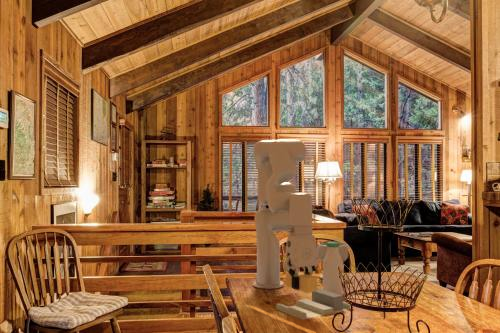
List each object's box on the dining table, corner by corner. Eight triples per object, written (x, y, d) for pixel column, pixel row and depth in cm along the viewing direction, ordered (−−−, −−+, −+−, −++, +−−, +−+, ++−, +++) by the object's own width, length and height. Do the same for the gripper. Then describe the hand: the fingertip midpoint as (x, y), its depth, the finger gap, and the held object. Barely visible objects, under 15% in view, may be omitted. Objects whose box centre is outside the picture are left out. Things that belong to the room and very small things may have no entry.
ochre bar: (286, 286, 155) (286, 272, 156) (295, 284, 158) (295, 271, 158) (307, 292, 146) (307, 278, 146) (317, 291, 148) (317, 276, 148)
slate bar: (311, 303, 161) (311, 290, 161) (320, 302, 163) (320, 289, 163) (333, 311, 152) (333, 297, 152) (343, 309, 154) (342, 295, 154)
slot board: (276, 311, 155) (276, 303, 155) (324, 302, 166) (324, 295, 166) (302, 322, 143) (302, 314, 143) (353, 312, 154) (352, 304, 154)
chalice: (352, 276, 211) (352, 243, 211) (342, 282, 199) (342, 247, 199) (323, 273, 218) (323, 241, 218) (311, 279, 206) (311, 244, 206)
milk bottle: (343, 298, 172) (343, 243, 172) (322, 297, 173) (322, 243, 174) (343, 293, 179) (343, 241, 180) (323, 292, 181) (323, 240, 181)
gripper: (287, 233, 145) (287, 293, 144) (328, 230, 154) (328, 286, 153) (273, 231, 151) (273, 288, 151) (313, 228, 160) (313, 282, 159)
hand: (301, 287), depth 152 cm, fingers closed on ochre bar, 4 cm apart
